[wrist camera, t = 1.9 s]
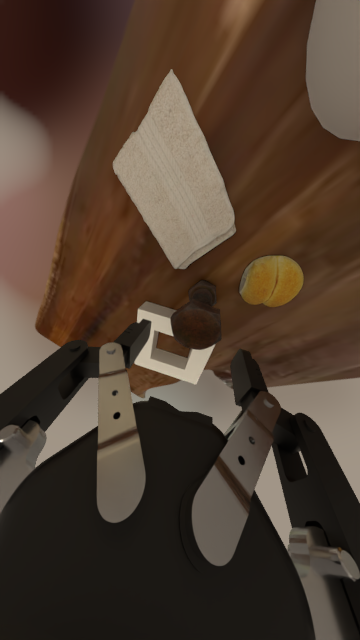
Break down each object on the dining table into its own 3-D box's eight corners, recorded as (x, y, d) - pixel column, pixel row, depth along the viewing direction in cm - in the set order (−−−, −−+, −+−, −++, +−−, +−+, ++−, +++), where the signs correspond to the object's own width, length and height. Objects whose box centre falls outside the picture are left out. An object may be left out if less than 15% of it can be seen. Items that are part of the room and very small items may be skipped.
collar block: (219, 323, 30) (220, 334, 26) (197, 372, 39) (196, 384, 35) (146, 301, 31) (137, 308, 28) (141, 353, 40) (134, 363, 37)
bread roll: (284, 306, 25) (295, 316, 22) (234, 298, 27) (237, 307, 23) (309, 257, 21) (327, 261, 18) (248, 251, 23) (255, 254, 19)
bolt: (200, 305, 29) (188, 357, 16) (184, 286, 27) (159, 326, 15) (224, 289, 26) (234, 335, 13) (209, 267, 25) (204, 295, 12)
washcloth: (180, 272, 27) (176, 275, 24) (115, 171, 21) (101, 161, 19) (241, 229, 22) (244, 228, 19) (175, 81, 16) (168, 51, 14)
